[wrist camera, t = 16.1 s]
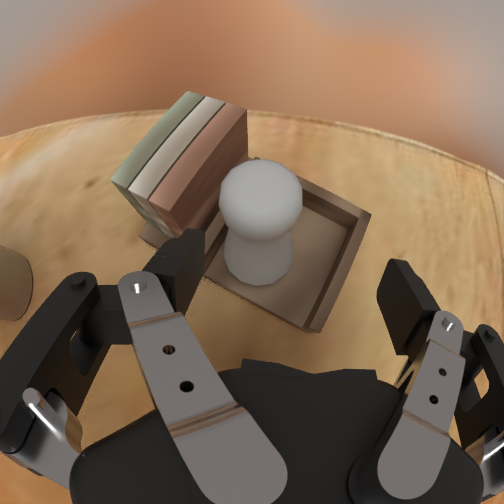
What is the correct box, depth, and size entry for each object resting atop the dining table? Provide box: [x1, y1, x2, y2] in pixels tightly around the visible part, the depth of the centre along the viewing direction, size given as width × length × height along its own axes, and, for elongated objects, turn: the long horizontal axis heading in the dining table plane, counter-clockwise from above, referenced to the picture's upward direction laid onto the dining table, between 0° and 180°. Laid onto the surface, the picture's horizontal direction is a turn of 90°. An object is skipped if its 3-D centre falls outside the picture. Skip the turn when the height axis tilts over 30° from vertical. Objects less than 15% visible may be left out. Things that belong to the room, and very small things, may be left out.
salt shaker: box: [219, 159, 302, 286], centre depth 19 cm, size 6×6×13 cm
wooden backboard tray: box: [110, 91, 372, 333], centre depth 23 cm, size 19×13×11 cm
